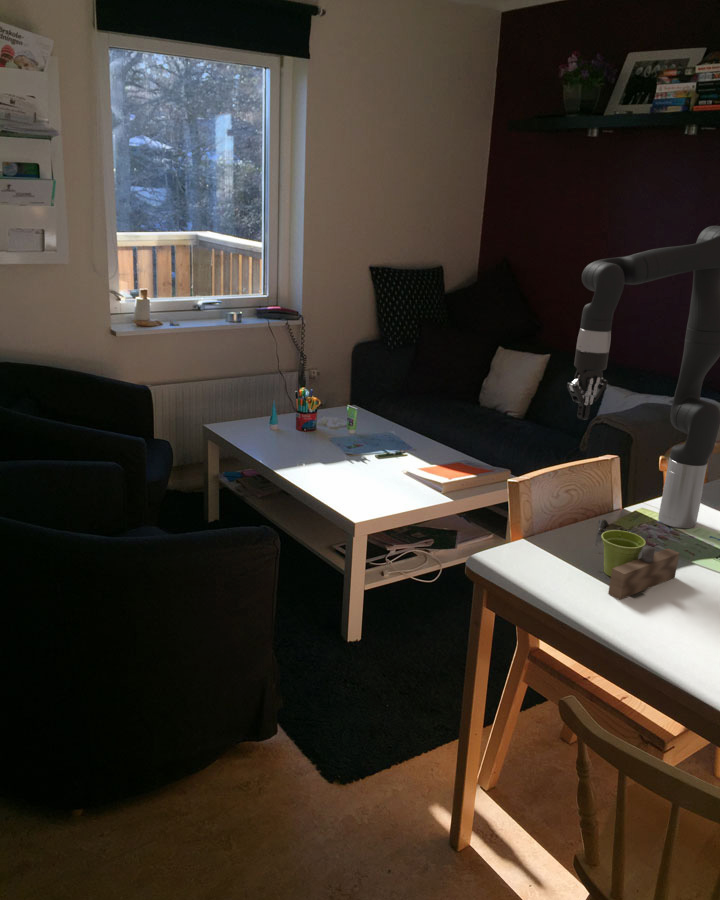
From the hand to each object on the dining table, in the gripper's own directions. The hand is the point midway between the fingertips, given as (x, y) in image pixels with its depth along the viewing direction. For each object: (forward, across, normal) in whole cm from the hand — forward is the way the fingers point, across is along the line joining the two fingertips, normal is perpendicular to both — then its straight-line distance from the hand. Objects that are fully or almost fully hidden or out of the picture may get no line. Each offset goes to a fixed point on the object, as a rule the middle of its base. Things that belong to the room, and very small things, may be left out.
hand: (582, 418), depth 195 cm
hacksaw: (+30, -4, +12) cm, 32 cm away
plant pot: (+29, +10, +23) cm, 38 cm away
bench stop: (+29, +10, +30) cm, 43 cm away
